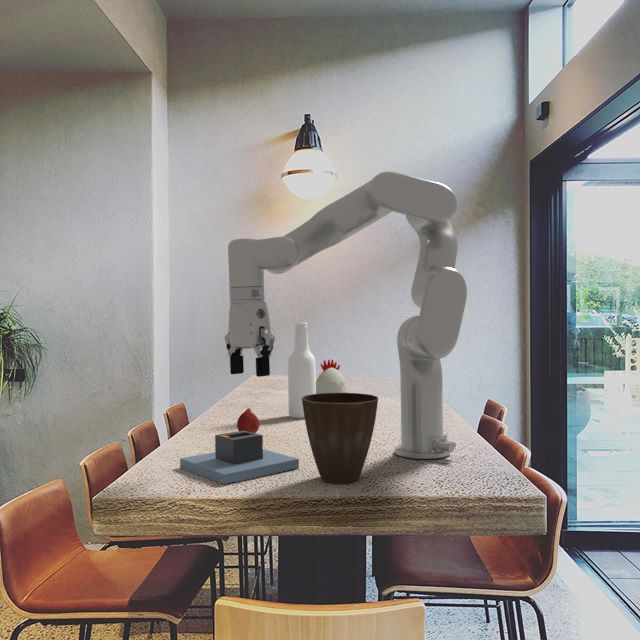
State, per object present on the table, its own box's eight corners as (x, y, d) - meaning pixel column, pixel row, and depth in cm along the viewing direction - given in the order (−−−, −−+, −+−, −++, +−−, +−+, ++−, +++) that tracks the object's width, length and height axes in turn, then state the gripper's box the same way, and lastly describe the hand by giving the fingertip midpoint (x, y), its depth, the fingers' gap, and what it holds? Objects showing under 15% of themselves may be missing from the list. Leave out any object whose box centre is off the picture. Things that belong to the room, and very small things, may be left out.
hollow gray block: (262, 458, 128) (262, 434, 128) (233, 464, 123) (233, 439, 123) (244, 453, 133) (243, 429, 133) (215, 458, 129) (215, 434, 128)
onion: (238, 441, 156) (238, 410, 156) (235, 437, 161) (235, 407, 161) (261, 439, 157) (260, 409, 157) (257, 435, 163) (257, 405, 163)
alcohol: (300, 419, 187) (298, 322, 187) (283, 416, 194) (281, 322, 194) (322, 416, 193) (320, 322, 192) (304, 413, 199) (303, 322, 199)
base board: (298, 468, 127) (298, 458, 127) (224, 484, 115) (224, 474, 115) (250, 454, 141) (250, 445, 141) (180, 467, 129) (180, 458, 129)
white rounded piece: (307, 397, 240) (307, 359, 240) (338, 394, 246) (338, 357, 246) (322, 401, 228) (322, 361, 228) (355, 398, 234) (354, 359, 234)
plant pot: (374, 468, 126) (373, 391, 126) (384, 488, 111) (383, 401, 111) (302, 470, 126) (301, 393, 126) (303, 490, 111) (301, 403, 111)
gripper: (285, 294, 128) (288, 375, 128) (239, 297, 141) (241, 371, 141) (256, 294, 123) (259, 378, 123) (211, 298, 136) (213, 374, 136)
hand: (249, 374), depth 132 cm, fingers open, 9 cm apart
